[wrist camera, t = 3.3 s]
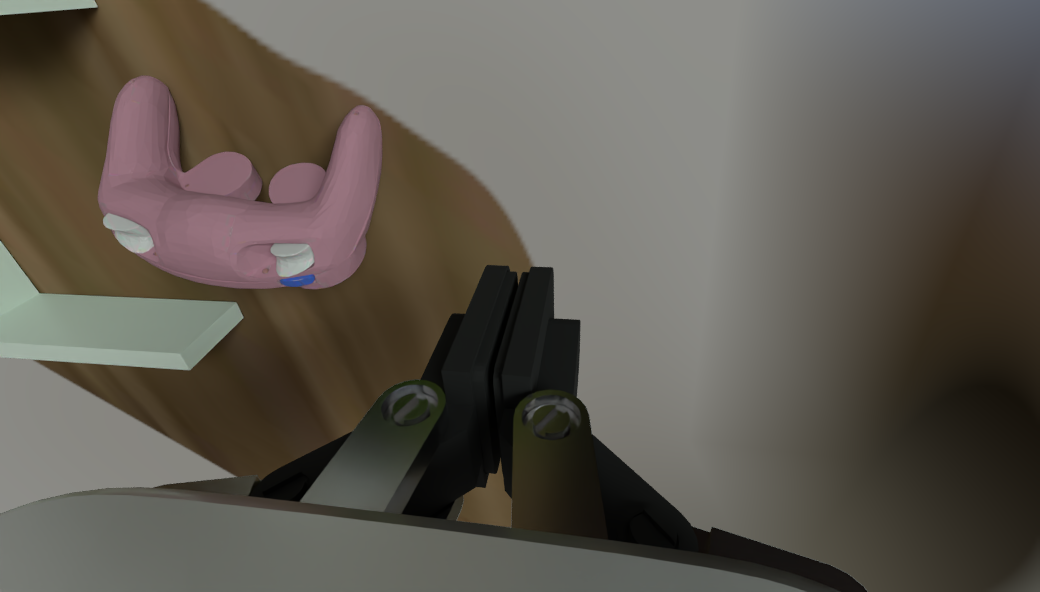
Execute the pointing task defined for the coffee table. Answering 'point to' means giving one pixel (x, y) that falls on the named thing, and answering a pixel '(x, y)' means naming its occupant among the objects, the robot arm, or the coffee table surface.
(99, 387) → the coffee table surface
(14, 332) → the box
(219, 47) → the coffee table surface
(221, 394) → the coffee table surface
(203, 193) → the video game controller
